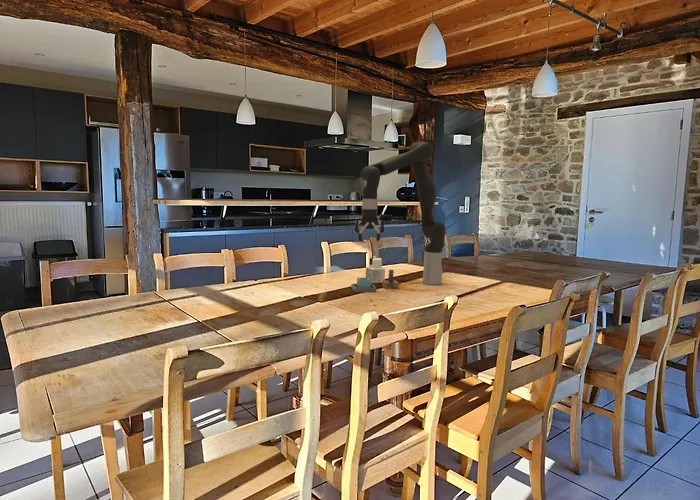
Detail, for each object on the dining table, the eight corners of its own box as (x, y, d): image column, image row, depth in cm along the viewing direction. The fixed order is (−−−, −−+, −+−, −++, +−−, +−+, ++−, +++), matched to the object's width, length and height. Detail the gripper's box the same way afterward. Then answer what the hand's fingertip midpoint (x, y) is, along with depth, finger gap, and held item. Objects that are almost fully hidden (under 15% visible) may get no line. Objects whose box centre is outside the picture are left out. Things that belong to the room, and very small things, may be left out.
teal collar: (370, 289, 234) (370, 279, 234) (358, 289, 233) (359, 279, 233) (368, 287, 240) (368, 277, 239) (356, 287, 239) (357, 277, 238)
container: (365, 280, 260) (366, 256, 258) (377, 279, 263) (378, 256, 262) (371, 283, 253) (372, 259, 251) (384, 282, 256) (385, 258, 255)
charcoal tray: (371, 287, 243) (372, 283, 242) (376, 292, 232) (376, 288, 232) (351, 287, 241) (351, 283, 241) (354, 292, 231) (354, 288, 230)
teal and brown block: (395, 286, 248) (396, 268, 247) (398, 288, 241) (399, 271, 240) (382, 286, 247) (383, 268, 246) (385, 288, 240) (386, 271, 239)
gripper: (356, 208, 229) (356, 242, 231) (385, 208, 231) (384, 242, 233) (354, 207, 236) (353, 240, 238) (382, 207, 238) (381, 240, 241)
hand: (369, 241), depth 236 cm, fingers open, 8 cm apart
